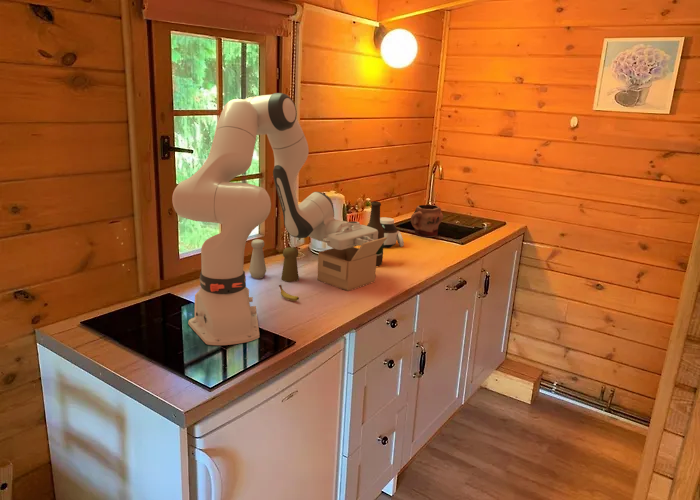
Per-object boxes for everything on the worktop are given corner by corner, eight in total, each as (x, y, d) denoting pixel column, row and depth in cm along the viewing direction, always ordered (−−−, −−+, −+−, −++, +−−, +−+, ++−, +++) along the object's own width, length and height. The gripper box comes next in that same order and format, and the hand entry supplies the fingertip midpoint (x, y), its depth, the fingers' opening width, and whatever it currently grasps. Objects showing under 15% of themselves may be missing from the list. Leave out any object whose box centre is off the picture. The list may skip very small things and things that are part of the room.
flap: (362, 243, 173) (363, 244, 173) (386, 236, 182) (387, 237, 181) (350, 259, 178) (351, 260, 177) (374, 252, 186) (375, 254, 186)
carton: (314, 280, 188) (315, 252, 186) (344, 270, 200) (346, 244, 197) (346, 291, 179) (347, 262, 176) (376, 281, 190) (377, 253, 188)
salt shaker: (262, 280, 185) (262, 243, 182) (246, 278, 186) (246, 241, 183) (268, 274, 191) (268, 238, 187) (252, 273, 192) (253, 237, 188)
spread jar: (369, 243, 236) (371, 217, 232) (389, 240, 242) (391, 215, 239) (387, 251, 227) (389, 223, 223) (408, 247, 233) (410, 221, 230)
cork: (282, 282, 185) (282, 250, 182) (280, 276, 190) (280, 245, 187) (300, 281, 186) (300, 250, 183) (297, 275, 192) (298, 245, 189)
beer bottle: (374, 259, 214) (378, 199, 207) (386, 265, 208) (390, 203, 201) (357, 262, 210) (361, 200, 203) (369, 268, 204) (373, 204, 197)
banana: (277, 297, 172) (277, 285, 171) (281, 295, 173) (281, 284, 172) (296, 304, 167) (297, 292, 166) (300, 302, 169) (300, 290, 167)
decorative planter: (422, 242, 242) (425, 211, 238) (400, 236, 250) (402, 206, 246) (447, 235, 257) (450, 206, 253) (426, 229, 264) (428, 201, 260)
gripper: (319, 229, 179) (351, 239, 170) (359, 220, 194) (390, 229, 185) (318, 248, 180) (350, 259, 172) (358, 237, 195) (389, 247, 187)
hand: (371, 243), depth 179 cm, fingers closed, pressing on flap
